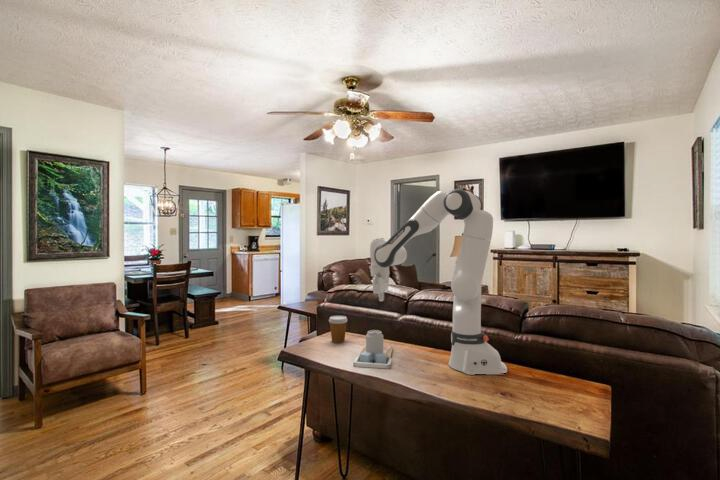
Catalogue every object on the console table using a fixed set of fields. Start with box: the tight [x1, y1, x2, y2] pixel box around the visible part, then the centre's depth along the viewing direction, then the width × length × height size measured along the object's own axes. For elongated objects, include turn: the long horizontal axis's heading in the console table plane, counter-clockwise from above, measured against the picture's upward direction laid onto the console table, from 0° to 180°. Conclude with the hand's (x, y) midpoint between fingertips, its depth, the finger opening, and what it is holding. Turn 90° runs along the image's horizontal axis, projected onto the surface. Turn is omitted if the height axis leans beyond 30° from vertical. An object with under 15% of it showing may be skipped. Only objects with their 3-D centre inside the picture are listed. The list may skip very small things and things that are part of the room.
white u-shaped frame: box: [352, 355, 393, 370], centre depth 149 cm, size 15×8×2 cm, turn 79°
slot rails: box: [358, 344, 394, 363], centre depth 161 cm, size 13×16×2 cm
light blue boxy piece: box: [373, 351, 387, 364], centre depth 150 cm, size 4×4×4 cm
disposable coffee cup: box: [328, 315, 348, 344], centre depth 181 cm, size 10×10×12 cm
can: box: [365, 329, 384, 362], centre depth 155 cm, size 8×8×12 cm
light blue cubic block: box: [359, 351, 374, 363], centre depth 151 cm, size 4×4×4 cm
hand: (381, 300), depth 172 cm, fingers closed
